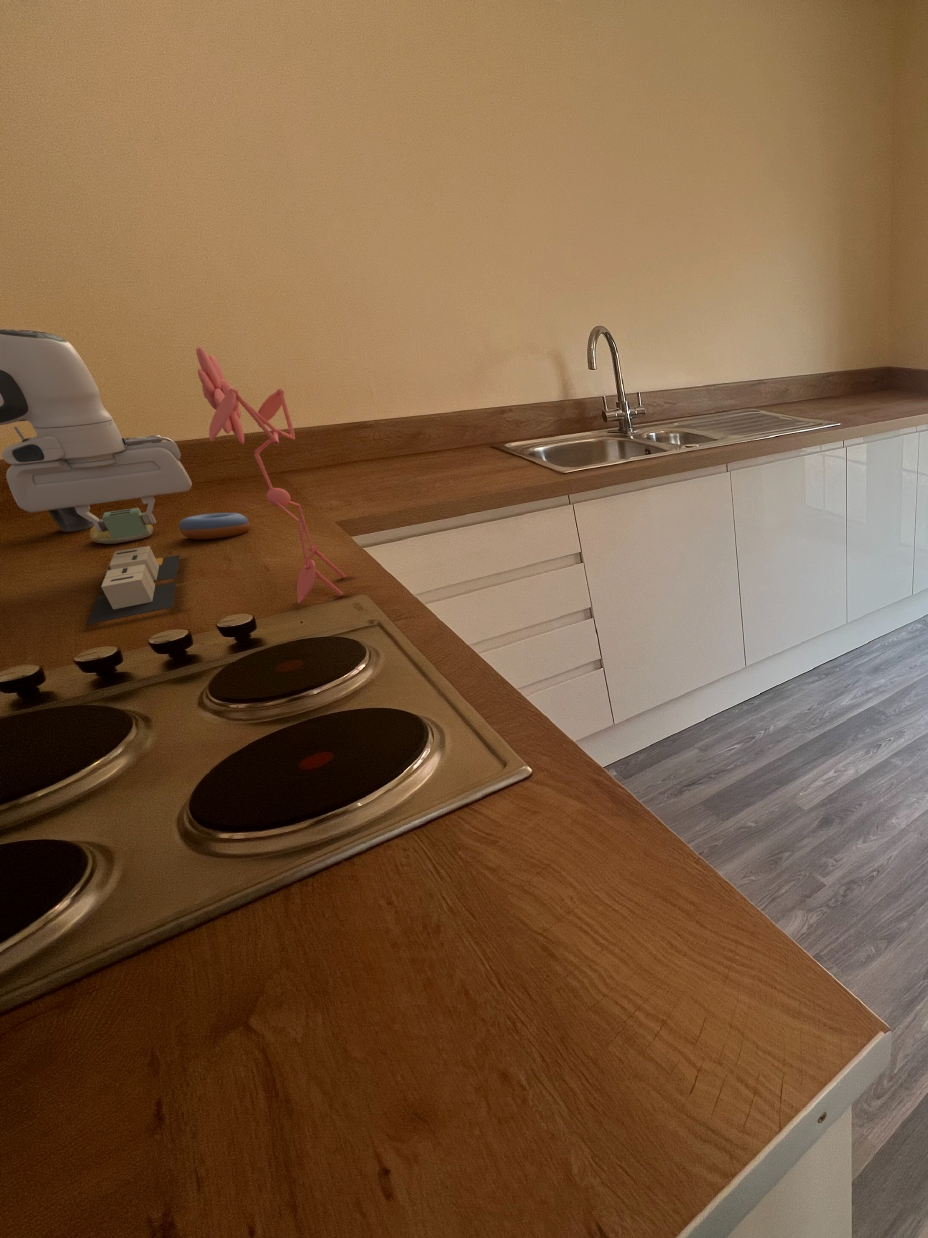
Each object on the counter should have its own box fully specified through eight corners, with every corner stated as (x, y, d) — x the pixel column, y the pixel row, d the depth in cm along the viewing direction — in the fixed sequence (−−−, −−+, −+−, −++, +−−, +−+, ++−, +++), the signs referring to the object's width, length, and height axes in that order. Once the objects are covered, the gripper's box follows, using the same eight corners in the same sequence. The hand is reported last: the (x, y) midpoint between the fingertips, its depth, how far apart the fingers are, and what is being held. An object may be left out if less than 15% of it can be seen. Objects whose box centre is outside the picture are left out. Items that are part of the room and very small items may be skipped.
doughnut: (239, 527, 139) (230, 504, 137) (262, 534, 134) (252, 511, 132) (177, 540, 131) (166, 517, 129) (198, 548, 127) (187, 524, 125)
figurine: (353, 561, 119) (275, 341, 104) (347, 612, 100) (250, 349, 84) (241, 579, 112) (139, 345, 97) (210, 638, 93) (76, 355, 77)
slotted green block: (112, 539, 113) (101, 517, 111) (115, 533, 116) (103, 511, 114) (147, 533, 115) (136, 512, 114) (148, 528, 118) (138, 506, 116)
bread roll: (135, 530, 138) (126, 510, 136) (163, 534, 135) (154, 514, 133) (82, 542, 131) (71, 522, 129) (110, 547, 128) (99, 526, 126)
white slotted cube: (116, 600, 103) (104, 577, 102) (118, 592, 106) (106, 569, 105) (154, 593, 106) (142, 570, 104) (155, 585, 109) (144, 563, 107)
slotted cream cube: (120, 586, 108) (108, 564, 107) (122, 579, 111) (111, 557, 110) (156, 580, 111) (145, 558, 109) (158, 573, 114) (147, 551, 112)
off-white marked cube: (123, 579, 111) (111, 557, 110) (125, 572, 114) (114, 550, 113) (158, 572, 114) (147, 551, 112) (159, 566, 117) (149, 545, 115)
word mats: (88, 628, 96) (85, 623, 96) (110, 570, 117) (108, 566, 117) (174, 610, 101) (172, 606, 101) (180, 558, 122) (179, 554, 122)
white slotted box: (113, 609, 100) (100, 585, 99) (116, 601, 103) (103, 577, 101) (152, 602, 103) (140, 578, 101) (153, 594, 105) (142, 571, 104)
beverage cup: (112, 524, 142) (60, 423, 133) (67, 534, 136) (10, 429, 127) (87, 521, 144) (35, 422, 135) (42, 532, 137) (-16, 428, 128)
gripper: (172, 431, 117) (208, 511, 123) (-7, 448, 105) (44, 536, 111) (171, 435, 112) (208, 518, 119) (-15, 455, 101) (37, 545, 107)
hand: (127, 527), depth 115 cm, fingers closed on slotted green block, 4 cm apart
